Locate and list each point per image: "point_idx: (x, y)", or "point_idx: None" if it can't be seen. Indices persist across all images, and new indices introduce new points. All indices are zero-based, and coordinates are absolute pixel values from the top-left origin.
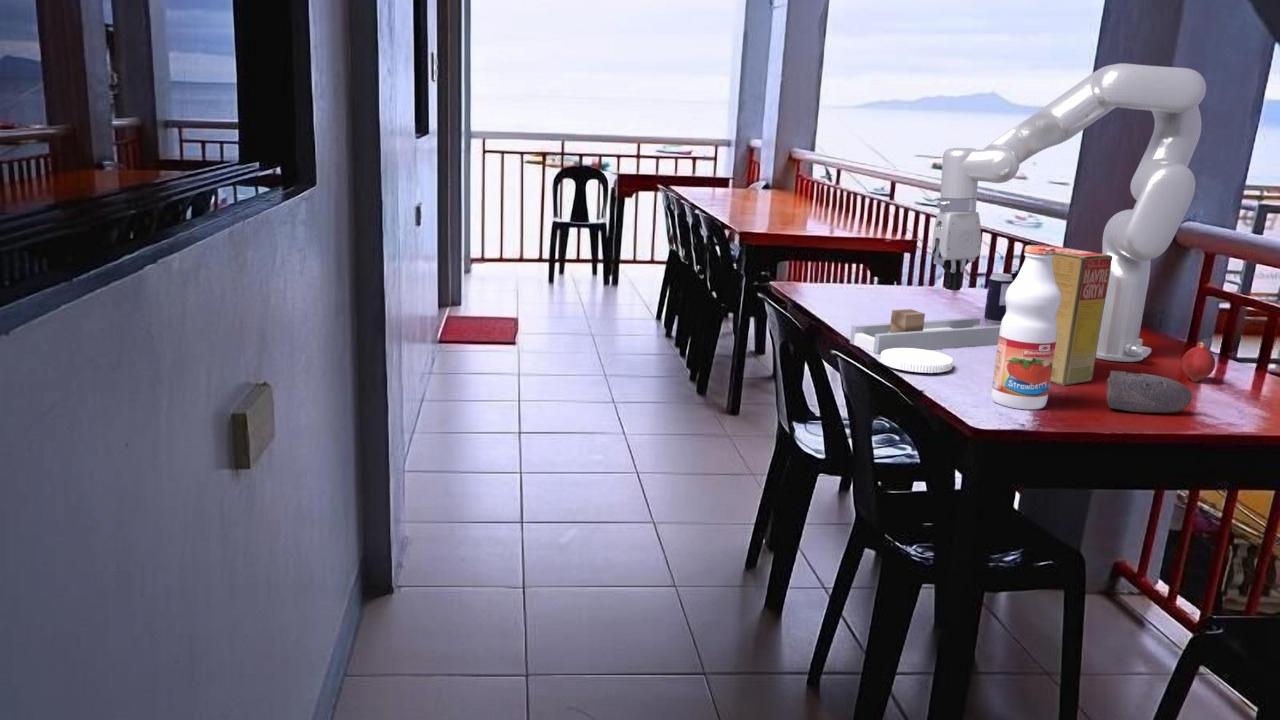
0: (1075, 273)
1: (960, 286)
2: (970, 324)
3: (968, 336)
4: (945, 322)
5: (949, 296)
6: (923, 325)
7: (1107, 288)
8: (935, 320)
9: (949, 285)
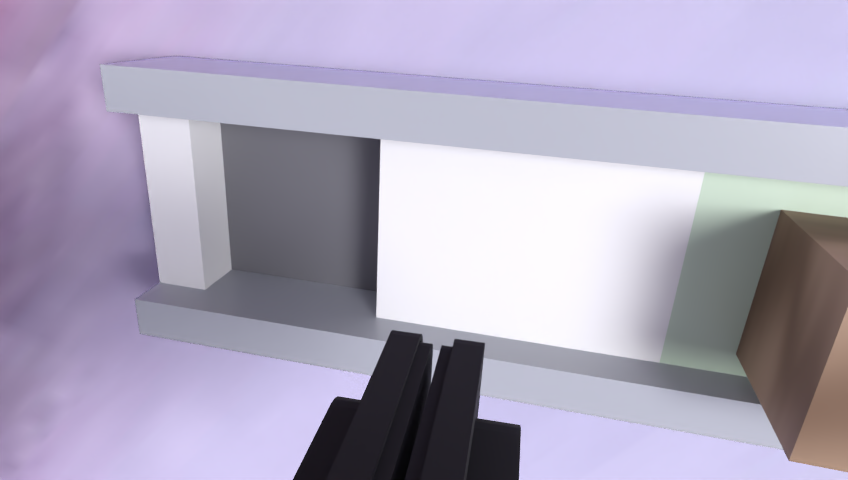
0: None
1: (387, 349)
2: (217, 296)
3: (438, 85)
4: None
5: None
6: (812, 238)
7: None
8: None
9: (520, 433)
